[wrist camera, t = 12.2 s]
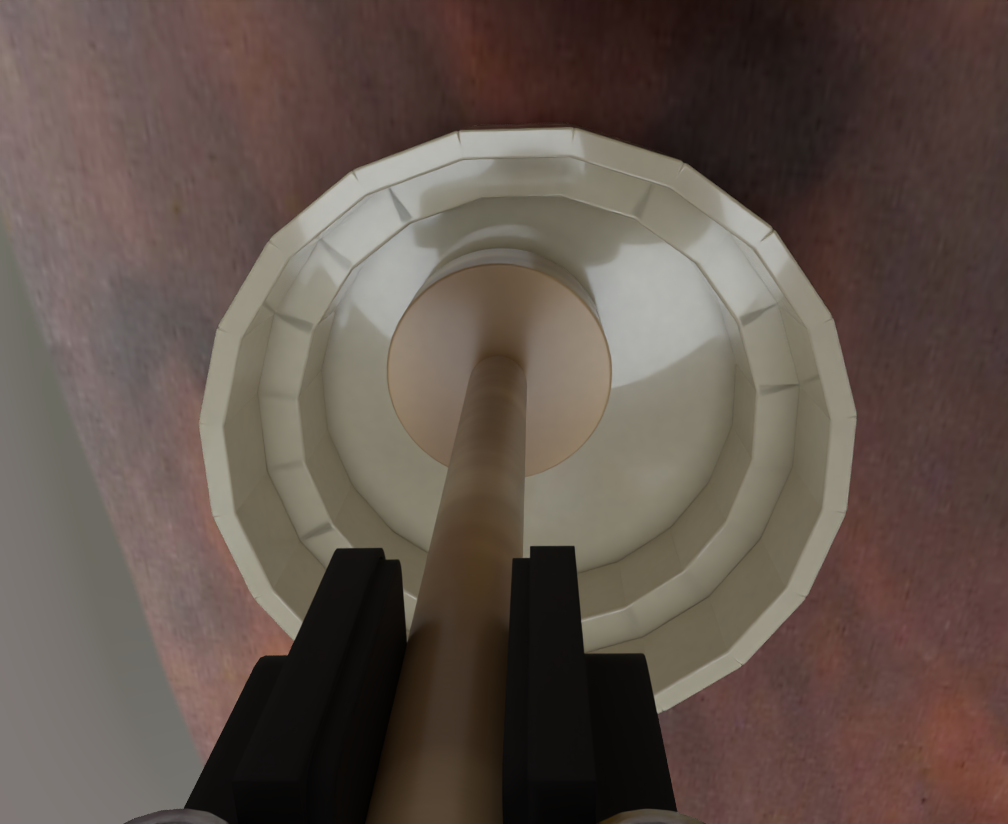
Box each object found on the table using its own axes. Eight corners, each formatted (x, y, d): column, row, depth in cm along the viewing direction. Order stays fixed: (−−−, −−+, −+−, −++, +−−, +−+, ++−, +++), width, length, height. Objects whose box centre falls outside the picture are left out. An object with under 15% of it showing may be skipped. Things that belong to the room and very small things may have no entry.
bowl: (807, 114, 24) (890, 118, 18) (767, 612, 29) (823, 738, 23) (245, 130, 24) (155, 138, 19) (301, 613, 29) (243, 734, 24)
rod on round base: (605, 245, 23) (905, 817, 5) (604, 444, 25) (813, 1445, 6) (393, 250, 24) (-160, 817, 5) (406, 447, 25) (45, 1425, 7)
